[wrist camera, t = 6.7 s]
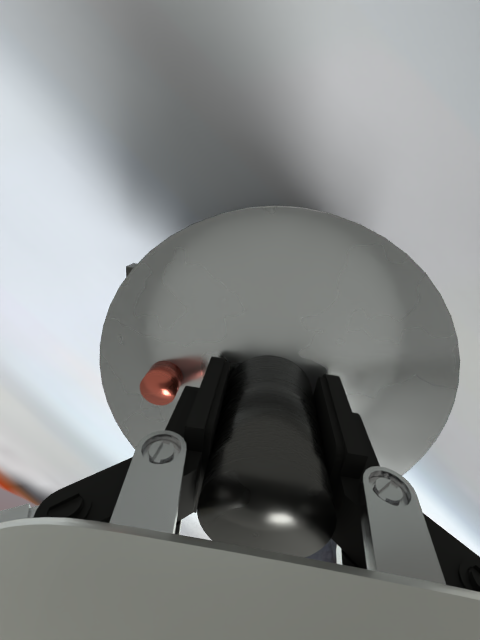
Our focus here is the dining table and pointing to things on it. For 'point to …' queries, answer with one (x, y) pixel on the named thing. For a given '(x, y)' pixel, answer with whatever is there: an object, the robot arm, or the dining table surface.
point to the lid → (280, 359)
